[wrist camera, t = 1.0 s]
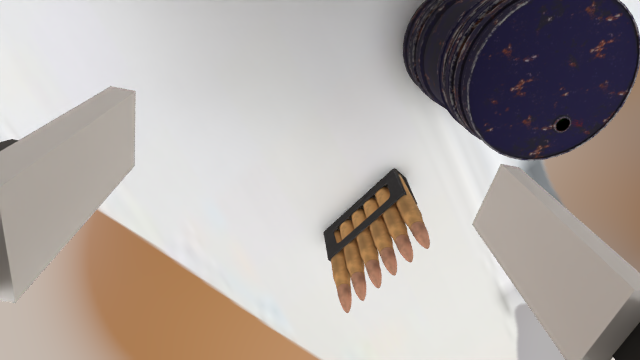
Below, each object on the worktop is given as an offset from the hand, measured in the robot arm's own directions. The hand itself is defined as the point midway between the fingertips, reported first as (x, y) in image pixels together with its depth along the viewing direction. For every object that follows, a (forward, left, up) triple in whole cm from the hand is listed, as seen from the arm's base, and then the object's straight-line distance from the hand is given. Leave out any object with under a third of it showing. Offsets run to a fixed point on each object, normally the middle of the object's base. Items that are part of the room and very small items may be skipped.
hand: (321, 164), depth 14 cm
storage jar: (-4, +13, -24) cm, 27 cm away
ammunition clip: (+14, +10, -24) cm, 29 cm away
